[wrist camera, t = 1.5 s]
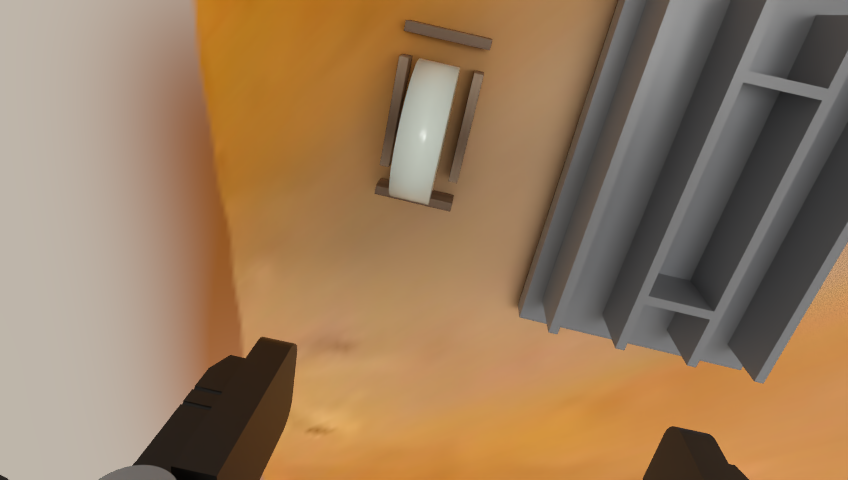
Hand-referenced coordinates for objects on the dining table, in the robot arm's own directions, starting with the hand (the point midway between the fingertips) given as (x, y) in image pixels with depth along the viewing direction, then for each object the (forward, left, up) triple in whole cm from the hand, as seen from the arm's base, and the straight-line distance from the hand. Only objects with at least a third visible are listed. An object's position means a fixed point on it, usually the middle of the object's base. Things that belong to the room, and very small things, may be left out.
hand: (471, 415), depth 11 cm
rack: (-2, +12, -21) cm, 24 cm away
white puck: (-2, -3, -18) cm, 18 cm away
